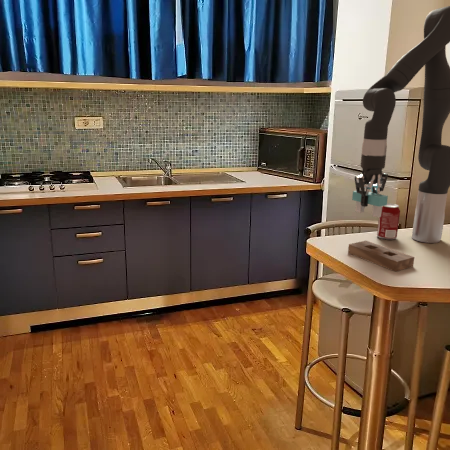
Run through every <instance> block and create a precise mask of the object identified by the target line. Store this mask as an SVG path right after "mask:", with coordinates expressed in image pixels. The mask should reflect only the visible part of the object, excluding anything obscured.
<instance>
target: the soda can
mask: <svg viewBox="0 0 450 450" xmlns="http://www.w3.org/2000/svg"><path fill="white" fill-rule="evenodd" d="M400 215H401V210H400V205H398V204H395V203H389V202H387V205H384V206H382V212H381V217H378V220H377V221H378V223H377V230H376V237H378V238H379V237H380V238H379V239H381V238H382V239H381V240H385V239H386V240H385V241H393V240H394V239H397V237H398V231H399V224H400V223H399V222H400V217H401V216H400Z"/></svg>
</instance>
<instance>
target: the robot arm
mask: <svg viewBox="0 0 450 450" xmlns="http://www.w3.org/2000/svg"><path fill="white" fill-rule="evenodd" d="M448 44H450V5H448V6H444V7H440V8H436V9H433V10H431V11H430V12H429V13H427V15H426V18H425V20H424V23H423V39H422V41H420V42H419V43H418V44H417V45H414V47H413V48H411V49H410V50H408V51H407V52H406V53H404V55H402V56H401V58H399V59H398V60H397V61H396V62H395V64H394V65H393V66H391V68H390V69H389V71H388V72H387V73H386V74H385V75H384V76H383V77H381V78H380V79H379V80H377V81H376V82H375V83H374V84H372V85H371V86H370V87H369V88H368V89H367V90H366V92H365V93H364V95H363V98H362V106H363V107H364V109H366V110H367V111H369V112H373V115H372V117H371V119H369V120H367V121H366V122H365V124H364V133H363V141H362V147H361V157H360V158H361V159H360V167H361V169H362V170H361V173H360V175H358V176H357V175H356V176H354V184H355V189H356V190H355V191H357V193H359V194H361V206H364V207H368V205H369V204H368V194H369V192H372V193H377V194H380V192H383V191H384V190H385V187H386V184H387V181H388V180H387V179H388V177H389V174H388V173H384V172H383V169H385V168H386V159H387V149H388V145H387V143H388V140H387V139H388V132H389V131H388V129H389V126H390V121H391V120H392V117H393V114H394V111H395V109H396V103H397V100H396V95H395V93H397V92H400V91H402V90H404V89H405V88H406V87H407V85H409V84H410V82H411V81H412V80H413V79H414V78H415V76H416V75H417V74H418V73H419V71H420V70H422V68H424V85H423V104H422V105H423V109H422V111H423V112H422V125H421V126H422V127H421V136H420V142H419V148H418V157H417V159H418V163H419V165H420V167H421V169H424V170H426V171H429V172H428V176H427V178H426V179H425V180H423V181H421V182H419V184H418V191H417V197H416V205H415V209H414V210H415V212H414V219H413V226H412V231H411V238H412V240H414V241H417V242H421V243H427V244H437V243H440V241H441V240H442V236H443V235H442V234H443V229H444V223H445V218H446V214H445V212H446V204H447V197H448V192H449V189H450V145H446V144H442V135H443V128H444V125H445V123H446V121H447V119H448V117H449V115H450V64H449V62H448V59H447V54H446V53H447V52H446V46H447V45H448Z"/></svg>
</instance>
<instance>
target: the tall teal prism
mask: <svg viewBox="0 0 450 450" xmlns="http://www.w3.org/2000/svg"><path fill="white" fill-rule="evenodd" d="M351 197H352V198H351V199H352V201H355V202H356V203H355V212H356V213H359V214H361V213H365V207H364V206H361V194H359V193H357V191H356V190H353V191H352V196H351ZM388 198H389V196H388V195H384V194H380V193H379V194H377V193H372V191H369V194H368V205H371V206H372V211H371V217H373V218H379V217H381V212H382V206H384V205H387V203H388Z"/></svg>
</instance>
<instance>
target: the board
mask: <svg viewBox="0 0 450 450" xmlns="http://www.w3.org/2000/svg"><path fill="white" fill-rule="evenodd" d="M347 254H349V255H352V256H354V257H357V258H359V259H363V260H364V261H367V262H371V263H373V264H375V265H378V266H380V267H382V268H386V269H388V270H391V271H393V272H398V271H403V270H405V269H410V268H413V267H414V264H415V256H413V255H410V254H407V253H404V252H401V251H397V250H395V249H393V248H389V247H386V246H383V245H381V244H377V243H375V242H371V241H369V240H362V241H358V242H357V241H356V242H354V243H349V244H348V248H347Z"/></svg>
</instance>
